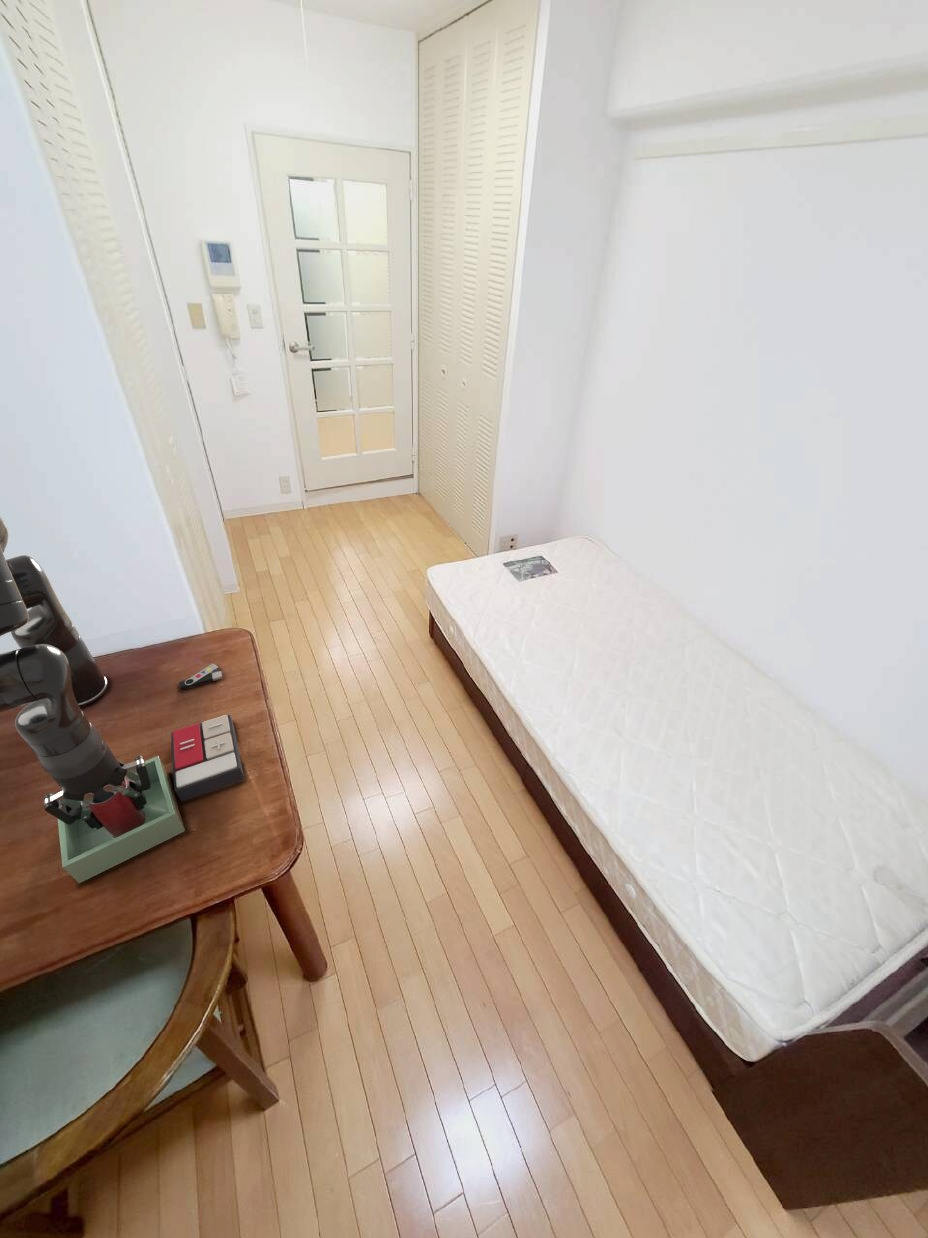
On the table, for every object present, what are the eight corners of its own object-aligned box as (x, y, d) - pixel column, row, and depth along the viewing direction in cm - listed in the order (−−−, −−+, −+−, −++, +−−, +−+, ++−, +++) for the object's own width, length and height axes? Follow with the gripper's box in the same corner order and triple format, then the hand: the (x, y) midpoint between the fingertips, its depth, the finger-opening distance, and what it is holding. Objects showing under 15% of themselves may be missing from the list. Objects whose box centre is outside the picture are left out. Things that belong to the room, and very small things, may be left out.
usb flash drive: (181, 691, 111) (179, 688, 111) (179, 675, 115) (178, 672, 114) (222, 679, 114) (221, 676, 114) (220, 664, 118) (219, 661, 117)
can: (106, 819, 88) (79, 785, 81) (142, 802, 90) (119, 768, 84) (111, 845, 84) (83, 812, 78) (148, 827, 87) (125, 794, 80)
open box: (71, 817, 88) (55, 799, 84) (169, 774, 96) (158, 755, 92) (80, 885, 80) (62, 867, 76) (186, 832, 87) (174, 814, 83)
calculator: (229, 711, 103) (239, 766, 92) (234, 725, 106) (244, 780, 95) (169, 729, 99) (172, 789, 88) (176, 743, 102) (180, 803, 91)
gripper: (127, 717, 80) (162, 778, 91) (15, 759, 74) (68, 819, 84) (135, 750, 76) (171, 810, 87) (17, 798, 69) (72, 857, 80)
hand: (120, 814), depth 85 cm, fingers closed on can, 5 cm apart
